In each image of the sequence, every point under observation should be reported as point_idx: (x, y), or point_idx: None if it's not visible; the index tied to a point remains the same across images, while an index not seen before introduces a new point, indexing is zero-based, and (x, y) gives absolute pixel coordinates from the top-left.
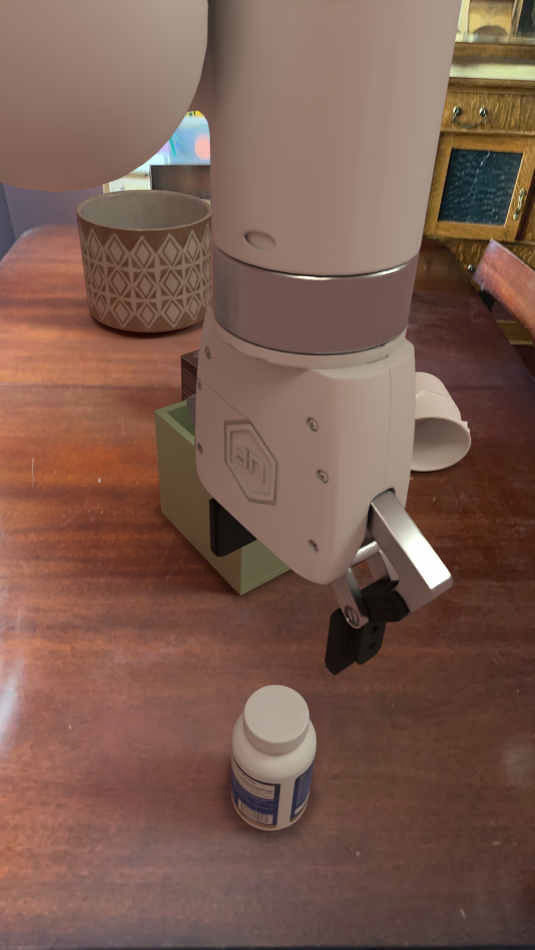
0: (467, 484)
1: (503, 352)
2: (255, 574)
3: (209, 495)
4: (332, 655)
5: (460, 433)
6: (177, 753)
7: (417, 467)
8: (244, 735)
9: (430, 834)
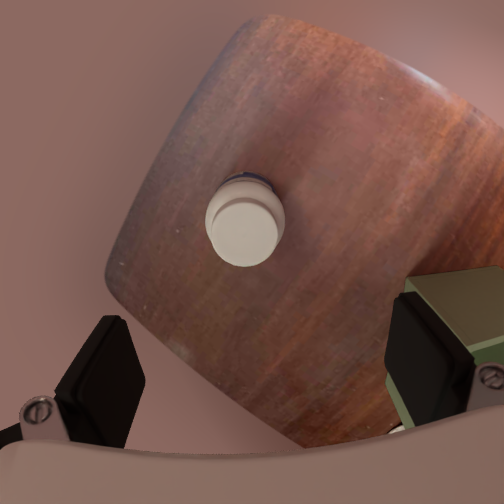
0: None
1: None
2: None
3: (484, 310)
4: (93, 336)
5: None
6: (315, 155)
7: (393, 432)
8: (256, 198)
9: (165, 279)
